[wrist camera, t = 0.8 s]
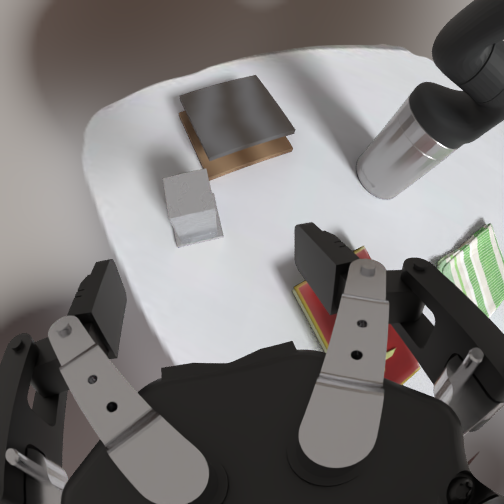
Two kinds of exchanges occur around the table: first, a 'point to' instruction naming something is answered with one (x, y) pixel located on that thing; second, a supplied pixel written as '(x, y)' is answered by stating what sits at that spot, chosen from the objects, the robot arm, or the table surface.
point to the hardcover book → (397, 355)
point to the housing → (192, 208)
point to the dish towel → (477, 269)
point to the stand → (235, 125)
